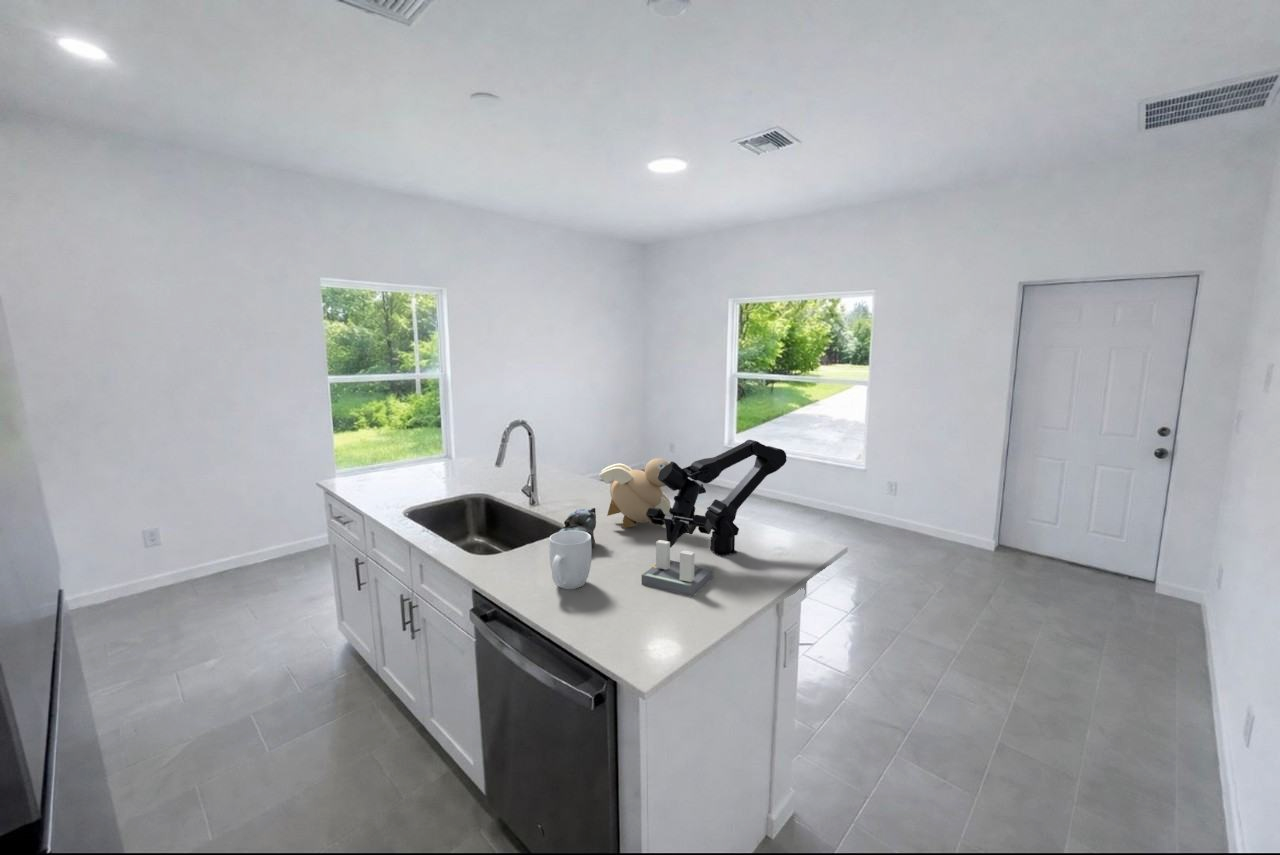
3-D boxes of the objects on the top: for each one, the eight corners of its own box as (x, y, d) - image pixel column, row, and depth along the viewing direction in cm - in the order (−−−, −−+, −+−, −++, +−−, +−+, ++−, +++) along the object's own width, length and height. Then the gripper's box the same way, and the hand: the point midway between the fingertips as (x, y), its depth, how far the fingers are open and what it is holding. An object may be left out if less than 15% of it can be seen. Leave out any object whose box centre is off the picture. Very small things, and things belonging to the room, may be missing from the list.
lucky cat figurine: (545, 545, 172) (554, 502, 176) (577, 553, 178) (586, 511, 182) (567, 544, 160) (577, 499, 164) (601, 553, 166) (609, 509, 170)
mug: (575, 602, 132) (574, 551, 130) (535, 596, 136) (533, 546, 134) (598, 578, 146) (597, 532, 145) (561, 573, 150) (560, 528, 148)
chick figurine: (635, 437, 177) (636, 428, 199) (579, 499, 180) (587, 483, 202) (702, 496, 179) (696, 481, 201) (646, 557, 182) (646, 535, 205)
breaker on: (682, 576, 140) (683, 550, 139) (694, 579, 139) (694, 552, 138) (679, 579, 139) (679, 552, 138) (690, 582, 137) (691, 555, 136)
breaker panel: (664, 567, 154) (664, 558, 154) (713, 577, 147) (713, 568, 146) (641, 583, 143) (641, 574, 143) (693, 596, 136) (693, 586, 135)
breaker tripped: (659, 564, 148) (659, 539, 147) (669, 567, 147) (670, 541, 146) (656, 567, 147) (656, 542, 146) (666, 569, 145) (666, 544, 144)
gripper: (723, 517, 159) (707, 566, 151) (666, 508, 168) (649, 553, 160) (713, 497, 151) (696, 548, 143) (654, 489, 160) (635, 536, 152)
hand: (668, 547), depth 150 cm, fingers closed
